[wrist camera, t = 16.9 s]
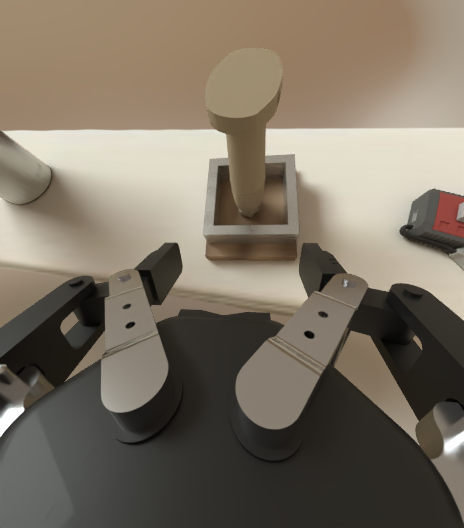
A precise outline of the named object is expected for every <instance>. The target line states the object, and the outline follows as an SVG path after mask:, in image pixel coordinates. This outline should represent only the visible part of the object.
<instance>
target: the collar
mask: <svg viewBox="0 0 464 528" xmlns="http://www.w3.org/2000/svg"><path fill="white" fill-rule="evenodd" d="M265 179H282V187H283V215H284V225H224V226H218V224H219V209H220V194H221V181H230V171H229V159H228V158H219V159H210V163H209V174H208V185H207V196H206V207H205V218H204V229H203V236H204V237H205V239H206V240H207V242H208V244H294V243H295V241H296V239H297V237H298V236H299V220H298V203H297V186H296V169H295V154H292V155H274V156H265Z"/></svg>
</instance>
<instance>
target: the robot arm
mask: <svg viewBox="0 0 464 528" xmlns="http://www.w3.org/2000/svg"><path fill="white" fill-rule="evenodd" d="M50 180H51V170H50V168H49V166H47V165H46V164H45V163H44V162H42V161H41V160H39V159H38V158H37V157H35V156H34V155H33V154H31V153H30V152H29V151H27V150H26V149H25V148H23V147H22V146H21V145H19V144H18V143H17V142H15V141H14V140H13V139H11V138H10V137H9V136H7V135H6V134H4V133H3V132H2V131H0V197H1V198H3V199H5V200H7V201H9V202H11V203H14V204H24V203H28V202H30V201H33V200H34V199H36V198H37V197H39V196H40V195H41V194H42V193H43V192H44V191H45V190H46V188H47V187H48V185H49V183H50ZM181 272H182V260H181V255H180V250H179V245H178V244H177V243H164V244H163V245H162V246H161V247H160V248H159V249H158V250H156V251H154V252H152V253H151V254H150V255H148V256H147V258H145V259H144V260H143V261H142V262H141V263H140V264H139V265H138V266H137V267H136V268H135V269H130V270H124V271H120V272H118V273H116V274H114V275H113V276H111V277H110V279H109V282H104V283H98V284H95V282H94V279H93V277H91V276H81V277H76V278H73V279H71V280H69V281H67V282H65V283H63V284H62V285H60V286H59V287H58V288H56V289H55V290H53V291H52V292H51V293H49V294H48V295H46V296H45V297H44V298H42V299H41V300H39V301H38V302H36V303H35V304H34V305H32V306H31V307H29V308H28V309H27V310H25V311H24V312H22V313H21V314H19V315H18V316H17V317H15V318H14V319H12V320H11V321H10V322H8V323H7V324H5V325H4V326H3V327H1V328H0V528H464V321H463V320H462V319H461V318H460V317H459V316H457V315H456V314H455V313H454V312H453V311H451V310H450V309H449V308H448V307H447V306H445V305H444V304H443V303H442V302H441V301H439V300H438V299H437V298H436V297H435V296H433V295H432V294H431V293H429V292H428V291H426V290H424V289H422V288H420V287H417V286H413V285H409V284H402V283H398V284H394V285H392V286H391V288H390V290H389V292H386V291H381V290H376V289H371V288H368V284H367V282H366V281H365V280H364V279H362V278H360V277H358V276H355V275H352V274H347V272H346V271H345V270H344V269H343V267H342V266H341V265H340V264H339V262H338V261H337V260H336V259H335V257H334V256H333V255H332V254H330V253H328V252H327V251H322V249H321V248H320V247H319V245H318V244H317V243H304V244H303V246H302V251H301V257H300V264H299V274H300V277H301V280H302V283H303V285H304V288H305V290H306V293H307V295H308V299H307V300H306V301H305V302H304V304H303V305H302V306H301V307H300V308H299V309H298V311H297V312H296V313H295V314H294V315H293V316H292V318H291V319H290V320H289V321H288V322H287V323H286V325H283V324H281V323H278V322H276V321H272V320H270V313H257V312H244V313H238V314H231V315H219V314H215V313H211V312H207V311H203V310H185V309H181V310H180V312H179V314H178V316H175V317H171V318H168V319H165V320H162V321H160V322H158V323H156V322H155V320H154V316H153V313H152V310H151V305H161V304H162V302H163V301H164V299H165V298H166V296H167V295H168V293H169V291H170V290H171V288H172V287H173V285H174V283H175V282H176V280H177V279H178V277H179V275H180V274H181ZM72 311H73V312H74V314H75V315H76V317H77V318H78V320H79V321H78V322H77V323H76V324H75V325H74V326H73V327H72V328H71V329H70V330H69V331H68V332H67V333H66V334H65V335H63V333H62V332H61V330H60V325H61V323H62V321H63V320H64V319H65V318H66V317H67V316H68V315H69V314H70V313H71V312H72ZM104 331H105V354H103V356H102V358H101V359H100V360H98V361H97V362H95V363H93V364H92V365H90V366H89V367H87V368H86V369H84V370H83V371H81V372H79V373H78V374H76V375H75V376H73V377H72V378H70V379H68V380H67V381H66V382H65V380H66V379H67V378H68V377H69V375H70V374H71V373H72V371H73V370H74V369H75V368H76V366H77V365H78V364H79V362H80V361H81V360H82V359H83V357H84V356H85V355H86V354H87V352H88V351H89V350H90V349H91V347H92V346H93V345H94V344H95V342H96V341H97V339H98V338H99V337H100V336H101V335H102V333H103V332H104ZM350 331H355V332H359V333H362V334H366V335H369V336H371V338H372V340H373V342H374V344H375V345H376V347H377V349H378V351H379V352H380V354H381V356H382V357H383V359H384V361H385V363H386V365H387V366H388V368H389V370H390V372H391V373H392V375H393V377H394V378H395V380H396V382H397V384H398V386H399V387H400V389H401V391H402V393H403V394H404V396H405V398H406V400H407V401H408V403H409V405H410V406H411V408H412V410H413V412H414V413H415V415H416V417H417V419H418V420H419V422H418V424H417V425H416V430H415V431H416V437H417V440H418V442H419V445H420V446H419V445H418V444H417V443H416V442H415V441H414V440H413V439H412V438H411V437H410V436H409V435H408V434H407V433H406V432H405V431H404V430H403V429H402V428H401V427H400V426H399V425H398V424H396V423H395V422H394V421H393V420H392V419H391V418H390V417H389V416H388V415H386V414H385V413H384V412H383V411H382V410H381V409H380V408H379V407H378V406H377V405H375V404H374V403H373V402H372V401H371V400H370V399H369V398H368V397H367V396H365V395H364V394H363V393H362V392H361V391H360V390H359V389H358V388H357V387H356V386H354V385H353V384H352V383H351V382H350V381H349V380H348V379H347V378H346V377H344V376H343V375H342V374H341V373H340V372H339V371H338V370H337V369H335V368H334V367H335V364H336V362H337V360H338V357H339V355H340V353H341V351H342V349H343V347H344V344H345V343H346V340H347V338H348V336H349V334H350ZM415 334H416V336H417V337H418V338H419V339H420V341H421V344H422V349H423V350H421V349H420V347H419V346H418V345H417V344H416V342H415V341H414V340H413V337H414V336H415Z"/></svg>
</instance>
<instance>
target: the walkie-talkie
mask: <svg viewBox="0 0 464 528" xmlns="http://www.w3.org/2000/svg"><path fill="white" fill-rule="evenodd" d="M399 231H400V234H401V235H402V236H404V237H406V238H408V239H409V240H413V241H414V242H415V241H417V242H418V243H422V244H427V245H428V246H429V245H430V246H432V247H437V248H438V249H439V248H440V249H442V250H445V251H446V252H448V253H449V256H450V257H451V258H452V259H453V260H454V261H455V262H456V263H457V264H458V265H459V266H460V267H461V268H462V269H463V270H464V196H461V195H457V194H454V193H450V192H445V191H441V190H436V189H432V190H429V191H427V192H426V193H424V194H423V195H422V196H420V197H419V198H418V199H416V200H415V201H413V203H412V207H411V211H410V215H409V219H408V224H407V225H404V226H403V227H401V229H400V230H399Z"/></svg>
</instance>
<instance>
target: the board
mask: <svg viewBox="0 0 464 528" xmlns="http://www.w3.org/2000/svg"><path fill="white" fill-rule="evenodd" d="M224 225H284V215H283V187H282V179H265V185H264V192H263V197H262V201H261V208H260V210H259V212H256V213H255V214H254V215H253V217H248V216H245V215H244V216H242V215H240V213H239V208H238V207H237V205H236V203H235V200H234V197H233V193H232V188H231V183H230V181H221V194H220V209H219V224H218V226H224ZM205 256H206V258H207V259H208V260H295V259H296V258H297V247H296V241H295V243H294V244H208V242H207V243H206V255H205Z"/></svg>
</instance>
